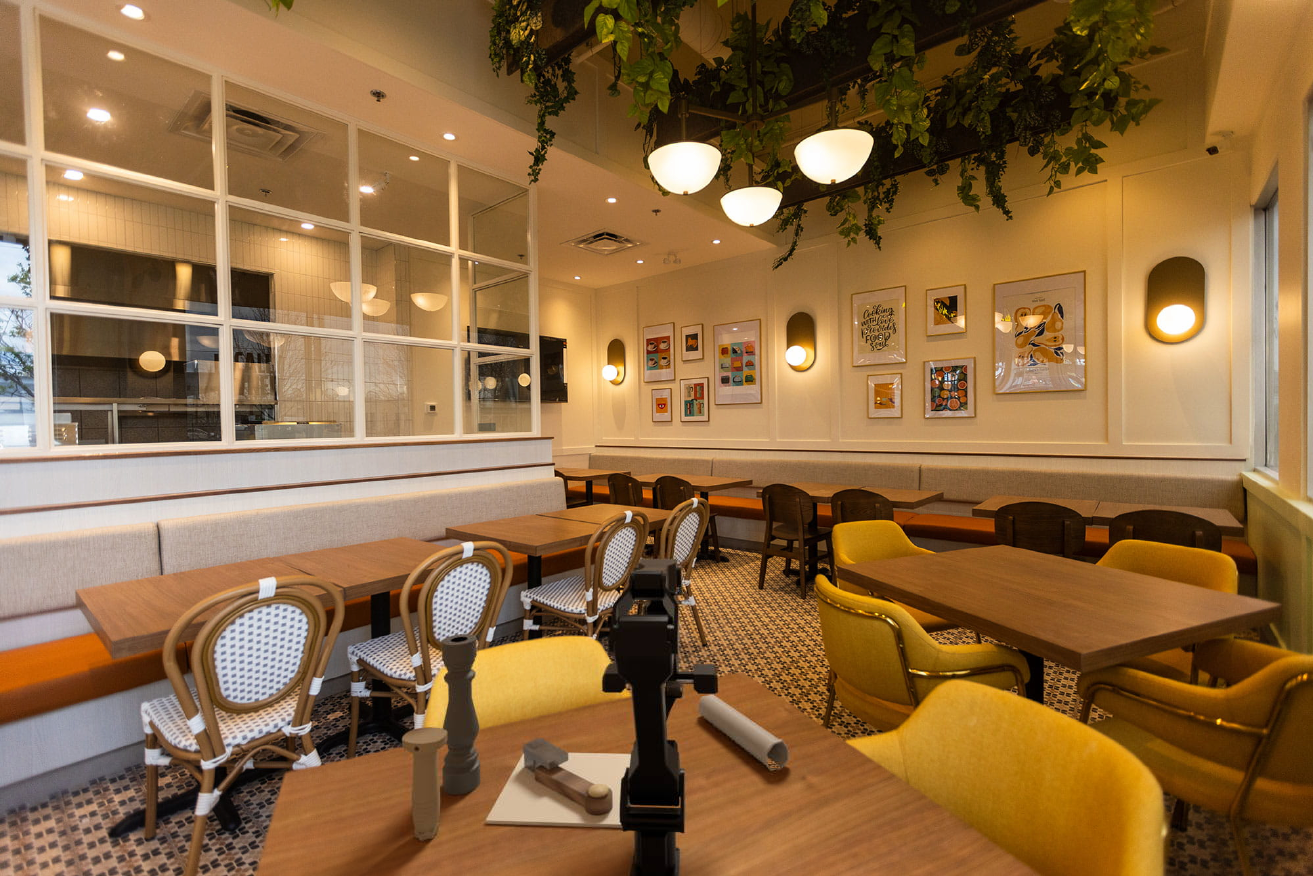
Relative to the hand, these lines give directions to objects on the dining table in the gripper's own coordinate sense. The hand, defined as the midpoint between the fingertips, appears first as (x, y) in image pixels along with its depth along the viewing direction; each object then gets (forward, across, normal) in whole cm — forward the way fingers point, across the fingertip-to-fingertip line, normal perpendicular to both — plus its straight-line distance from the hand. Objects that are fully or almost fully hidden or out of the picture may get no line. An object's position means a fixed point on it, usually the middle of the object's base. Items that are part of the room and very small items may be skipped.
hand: (661, 729), depth 97 cm
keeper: (+11, +21, -6) cm, 24 cm away
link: (+10, +15, +1) cm, 18 cm away
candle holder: (+11, +35, -2) cm, 37 cm away
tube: (+12, -13, -20) cm, 26 cm away
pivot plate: (+11, +16, -2) cm, 20 cm away
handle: (+11, +35, +11) cm, 38 cm away
